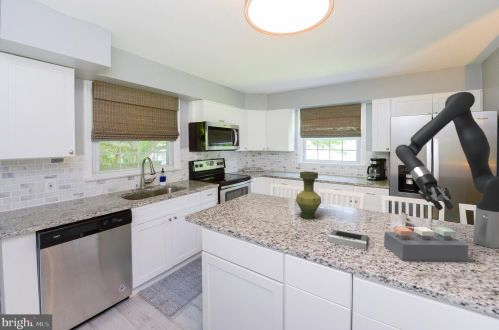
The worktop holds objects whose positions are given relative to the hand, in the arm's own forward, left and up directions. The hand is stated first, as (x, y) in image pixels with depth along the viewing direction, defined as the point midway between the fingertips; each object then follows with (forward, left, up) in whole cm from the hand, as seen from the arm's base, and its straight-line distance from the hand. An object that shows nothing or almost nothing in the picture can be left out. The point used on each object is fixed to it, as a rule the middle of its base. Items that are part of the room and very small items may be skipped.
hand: (446, 209), depth 100 cm
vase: (+49, -49, -20) cm, 72 cm away
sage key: (0, 0, -15) cm, 15 cm away
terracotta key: (+18, 0, -15) cm, 23 cm away
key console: (+9, 0, -20) cm, 22 cm away
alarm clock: (+36, -14, -21) cm, 44 cm away
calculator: (+2, -17, -21) cm, 27 cm away
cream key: (+9, 0, -15) cm, 17 cm away
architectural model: (-6, -36, -21) cm, 42 cm away
